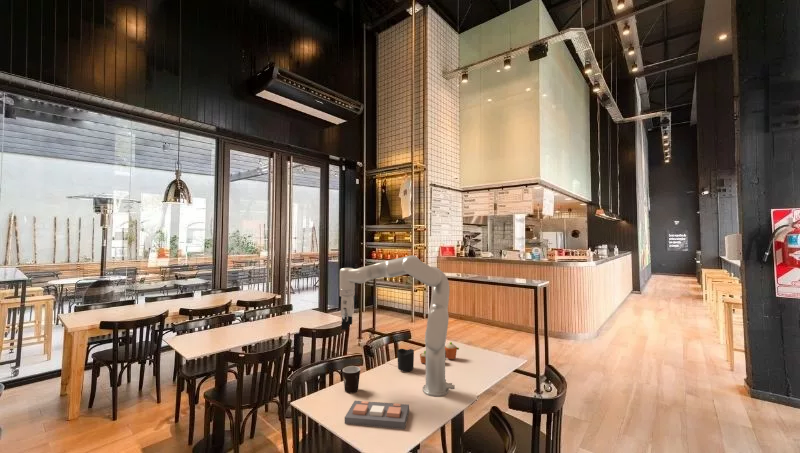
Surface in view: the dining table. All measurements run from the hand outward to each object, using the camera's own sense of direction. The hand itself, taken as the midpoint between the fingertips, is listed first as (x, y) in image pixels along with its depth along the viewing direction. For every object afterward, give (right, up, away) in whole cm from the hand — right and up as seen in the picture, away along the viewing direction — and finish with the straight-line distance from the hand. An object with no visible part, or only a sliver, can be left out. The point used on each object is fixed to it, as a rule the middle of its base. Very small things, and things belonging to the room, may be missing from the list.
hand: (347, 326), depth 171 cm
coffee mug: (+3, -29, -7) cm, 30 cm away
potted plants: (+50, -31, +37) cm, 69 cm away
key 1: (+10, -26, -31) cm, 42 cm away
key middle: (+17, -26, -32) cm, 45 cm away
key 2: (+24, -26, -33) cm, 49 cm away
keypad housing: (+18, -28, -31) cm, 46 cm away
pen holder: (+30, -30, +21) cm, 47 cm away
